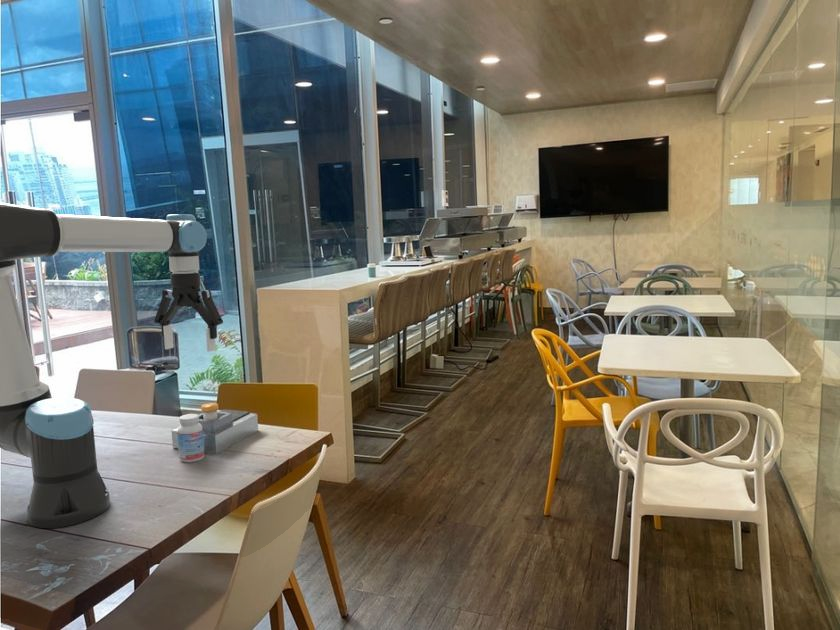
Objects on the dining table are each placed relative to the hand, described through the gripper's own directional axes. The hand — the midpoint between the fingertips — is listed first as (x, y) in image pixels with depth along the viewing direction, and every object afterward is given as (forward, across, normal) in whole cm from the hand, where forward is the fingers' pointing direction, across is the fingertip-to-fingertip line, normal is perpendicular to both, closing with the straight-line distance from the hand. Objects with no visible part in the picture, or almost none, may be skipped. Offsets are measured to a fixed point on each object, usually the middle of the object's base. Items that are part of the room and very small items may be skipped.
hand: (190, 349), depth 169 cm
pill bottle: (+26, -8, +13) cm, 30 cm away
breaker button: (+22, -7, +3) cm, 23 cm away
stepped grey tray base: (+25, -6, -1) cm, 26 cm away
